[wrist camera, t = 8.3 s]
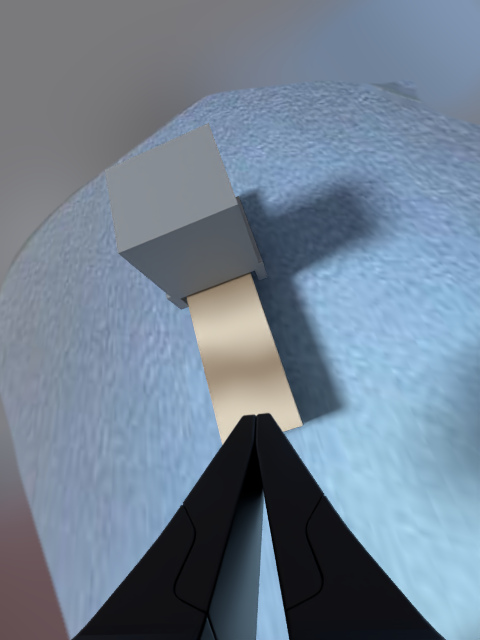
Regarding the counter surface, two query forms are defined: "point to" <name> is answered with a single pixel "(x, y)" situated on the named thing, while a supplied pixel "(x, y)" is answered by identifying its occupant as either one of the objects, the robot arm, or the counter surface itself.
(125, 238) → the block
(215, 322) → the beam
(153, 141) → the counter surface
